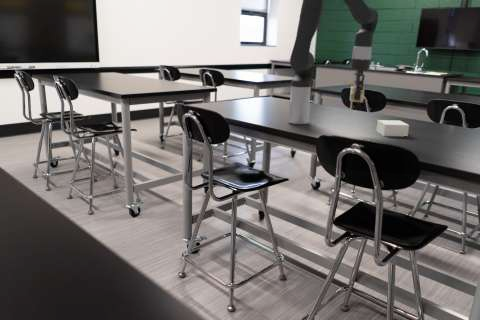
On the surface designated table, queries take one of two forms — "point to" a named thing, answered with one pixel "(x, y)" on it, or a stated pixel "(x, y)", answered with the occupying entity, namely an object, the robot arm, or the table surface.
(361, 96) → the beech block
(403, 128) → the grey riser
